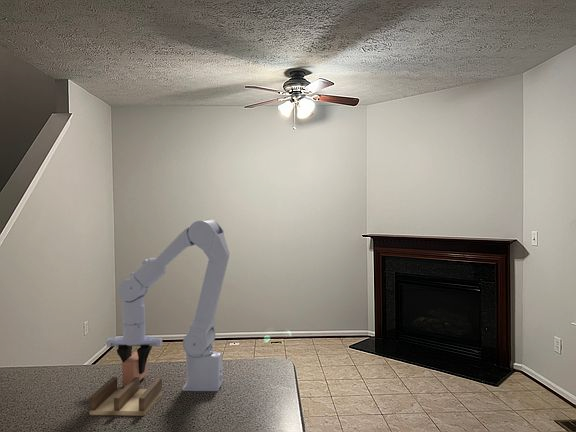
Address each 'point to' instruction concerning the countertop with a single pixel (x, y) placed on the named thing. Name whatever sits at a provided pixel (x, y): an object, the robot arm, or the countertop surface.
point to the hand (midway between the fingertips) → (135, 372)
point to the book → (132, 369)
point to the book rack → (124, 398)
